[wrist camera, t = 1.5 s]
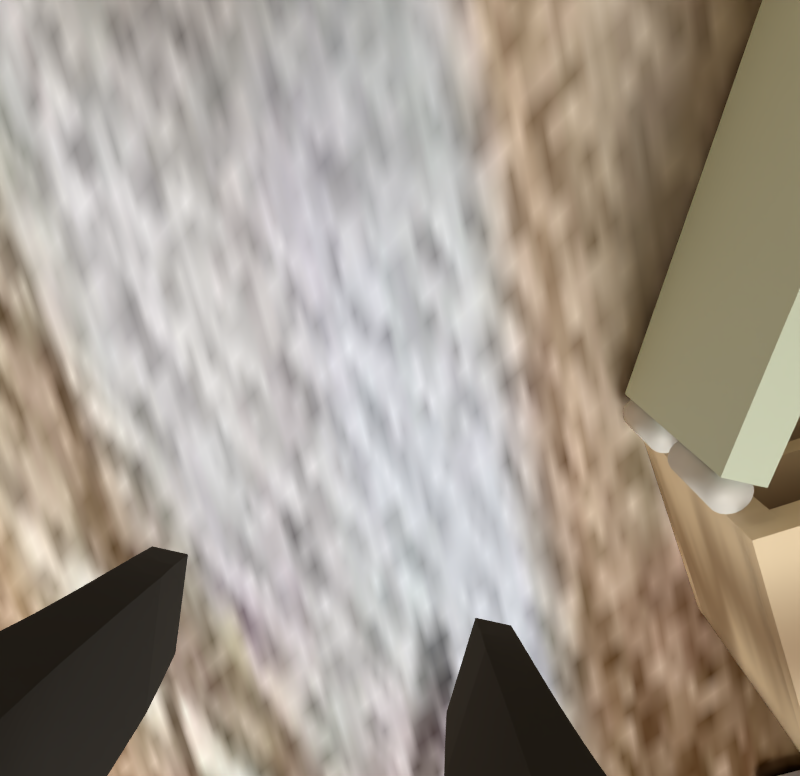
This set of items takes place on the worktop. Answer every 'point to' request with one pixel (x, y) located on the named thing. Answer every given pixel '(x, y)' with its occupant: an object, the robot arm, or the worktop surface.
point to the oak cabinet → (748, 576)
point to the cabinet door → (733, 290)
